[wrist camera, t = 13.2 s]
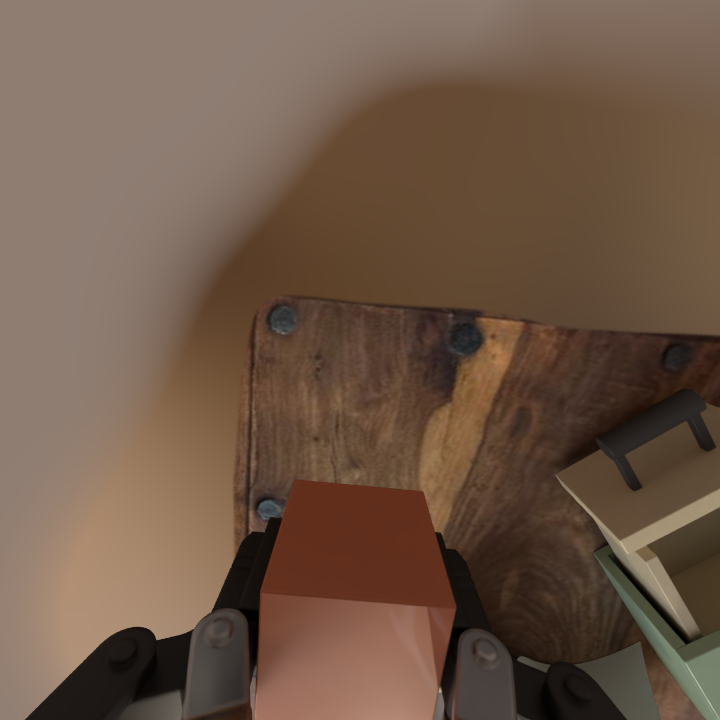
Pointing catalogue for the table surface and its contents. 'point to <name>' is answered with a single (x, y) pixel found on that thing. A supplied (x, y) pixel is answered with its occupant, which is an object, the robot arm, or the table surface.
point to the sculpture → (610, 682)
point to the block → (353, 608)
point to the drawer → (661, 507)
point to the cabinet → (671, 642)
